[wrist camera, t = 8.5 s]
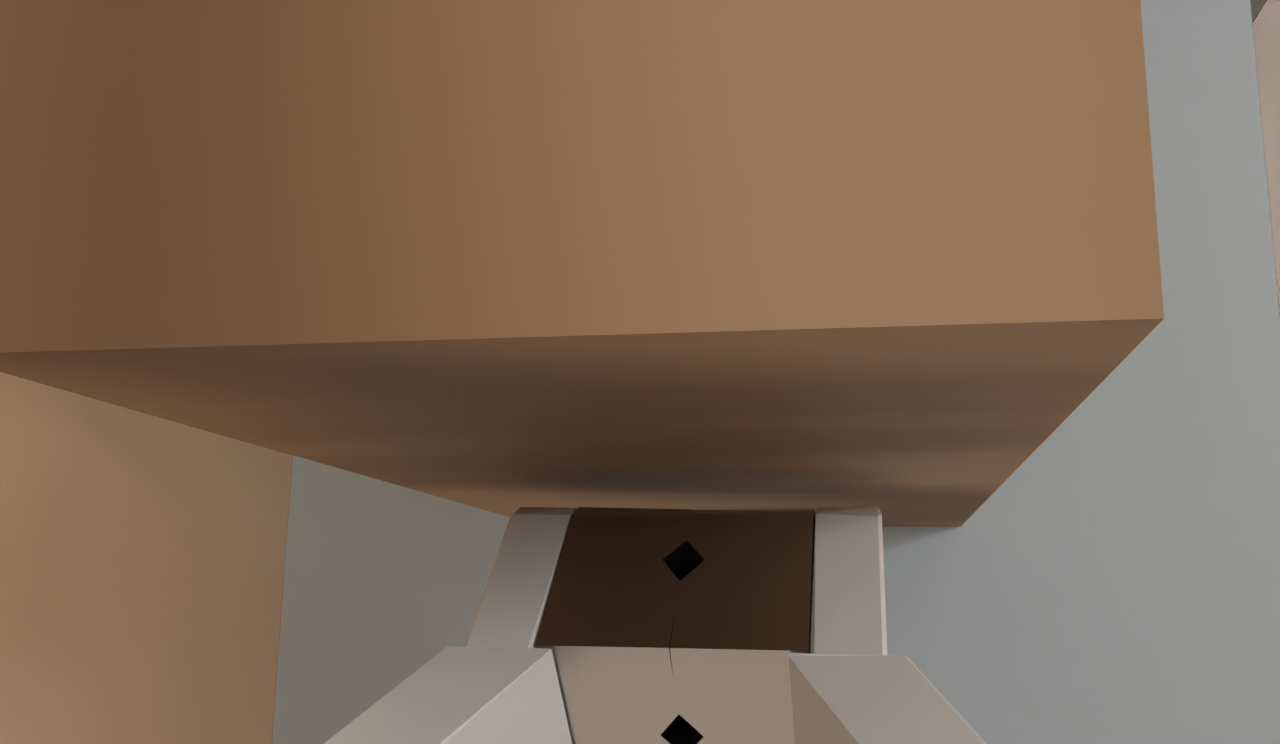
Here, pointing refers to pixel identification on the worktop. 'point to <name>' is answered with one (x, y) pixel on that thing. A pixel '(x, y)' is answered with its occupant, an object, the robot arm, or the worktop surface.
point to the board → (1002, 526)
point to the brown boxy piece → (587, 237)
